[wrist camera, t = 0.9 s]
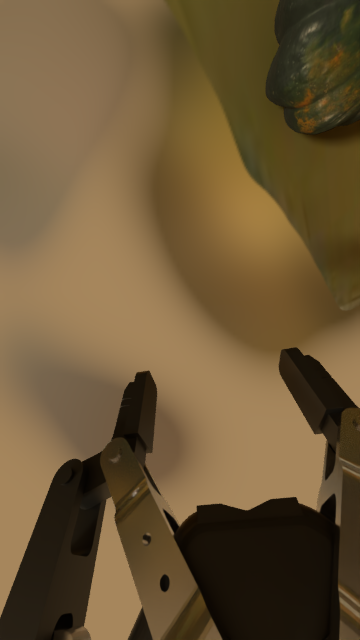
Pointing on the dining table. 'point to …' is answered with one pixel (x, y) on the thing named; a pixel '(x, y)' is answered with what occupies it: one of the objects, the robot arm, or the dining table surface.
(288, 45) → the squash
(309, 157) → the dining table surface
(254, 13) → the dining table surface
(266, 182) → the dining table surface
